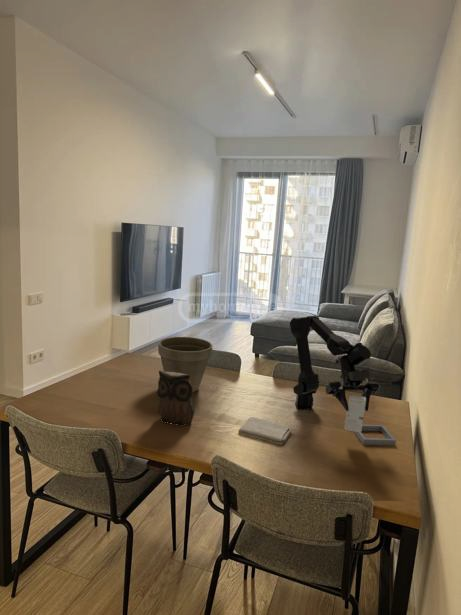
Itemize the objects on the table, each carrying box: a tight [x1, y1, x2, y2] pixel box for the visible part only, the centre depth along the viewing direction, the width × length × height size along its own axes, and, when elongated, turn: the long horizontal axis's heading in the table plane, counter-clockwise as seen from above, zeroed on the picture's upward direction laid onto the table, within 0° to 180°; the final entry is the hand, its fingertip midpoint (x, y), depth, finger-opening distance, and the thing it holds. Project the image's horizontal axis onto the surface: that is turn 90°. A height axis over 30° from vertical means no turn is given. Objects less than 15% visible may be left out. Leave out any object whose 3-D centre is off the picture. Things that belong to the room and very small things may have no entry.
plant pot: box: [157, 336, 214, 393], centre depth 196 cm, size 25×25×22 cm
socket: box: [353, 424, 397, 446], centre depth 159 cm, size 12×12×2 cm
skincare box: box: [344, 394, 366, 433], centre depth 152 cm, size 6×4×12 cm
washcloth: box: [237, 416, 293, 446], centre depth 158 cm, size 12×18×3 cm, turn 67°
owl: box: [157, 370, 195, 426], centre depth 162 cm, size 13×13×20 cm
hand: (357, 410), depth 150 cm, fingers closed on skincare box, 7 cm apart
